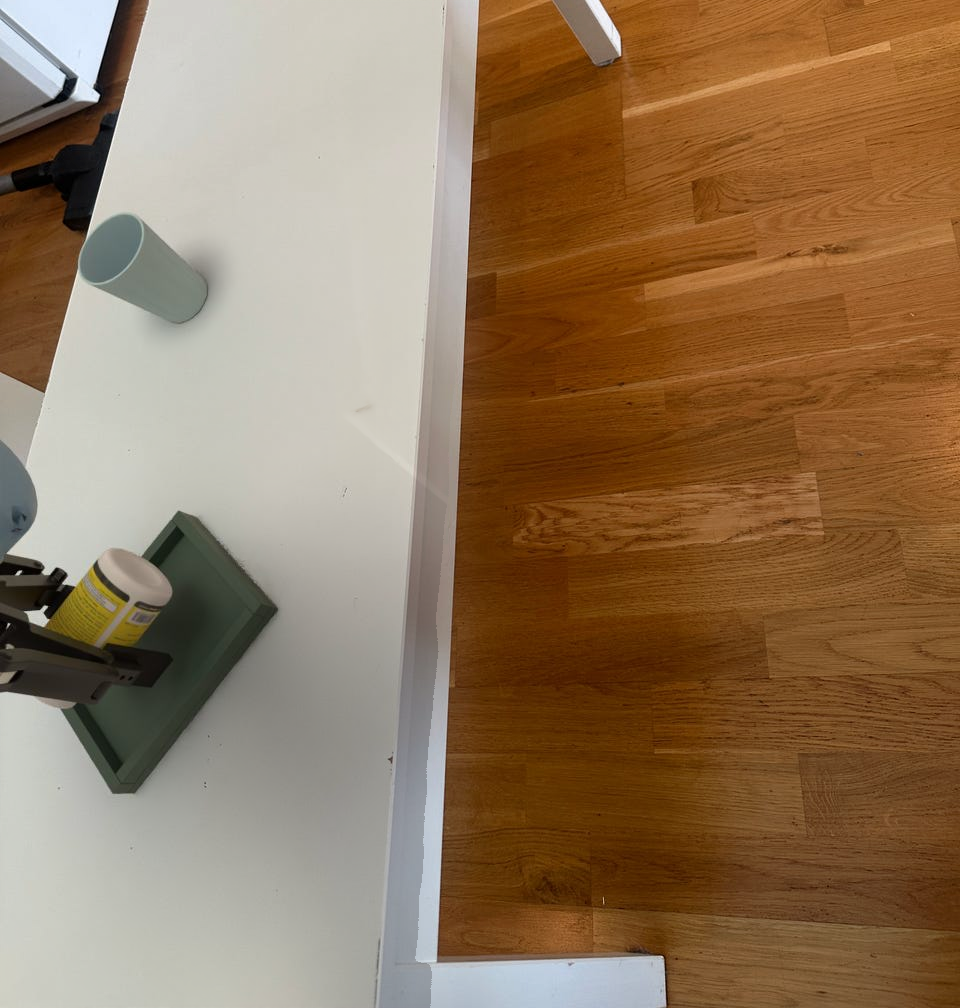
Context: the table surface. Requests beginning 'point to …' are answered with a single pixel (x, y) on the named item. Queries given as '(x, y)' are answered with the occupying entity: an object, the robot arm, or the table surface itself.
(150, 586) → the pill bottle
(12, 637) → the robot arm
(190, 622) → the tray
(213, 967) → the table surface
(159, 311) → the cup
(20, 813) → the table surface
